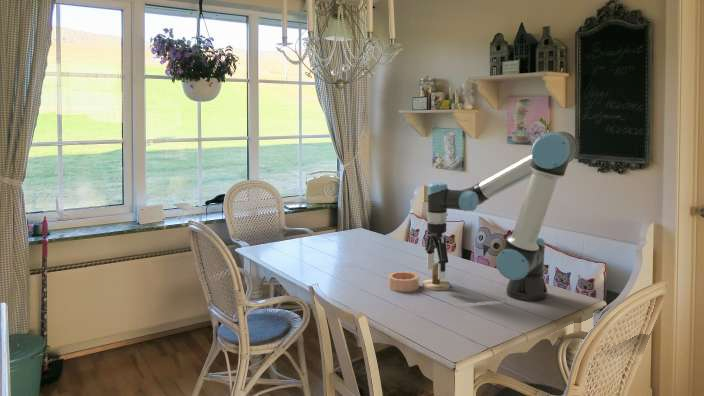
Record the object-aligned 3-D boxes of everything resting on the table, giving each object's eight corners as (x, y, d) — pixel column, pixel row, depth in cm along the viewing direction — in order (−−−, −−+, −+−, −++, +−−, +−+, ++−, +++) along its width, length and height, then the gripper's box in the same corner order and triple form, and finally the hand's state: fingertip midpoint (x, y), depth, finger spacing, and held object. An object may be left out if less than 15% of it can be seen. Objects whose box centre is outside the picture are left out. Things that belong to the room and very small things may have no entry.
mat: (452, 291, 209) (452, 289, 209) (428, 293, 208) (428, 290, 208) (443, 283, 219) (443, 281, 219) (420, 285, 217) (420, 283, 217)
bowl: (422, 292, 208) (422, 279, 207) (392, 294, 206) (393, 281, 205) (413, 283, 220) (413, 270, 219) (385, 285, 218) (385, 272, 217)
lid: (453, 289, 209) (454, 266, 208) (427, 291, 207) (427, 268, 206) (444, 281, 220) (444, 259, 218) (418, 282, 218) (418, 261, 216)
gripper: (457, 228, 198) (456, 282, 201) (435, 216, 222) (434, 264, 225) (438, 229, 197) (437, 283, 200) (418, 216, 221) (417, 265, 224)
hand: (435, 273), depth 213 cm, fingers open, 13 cm apart
